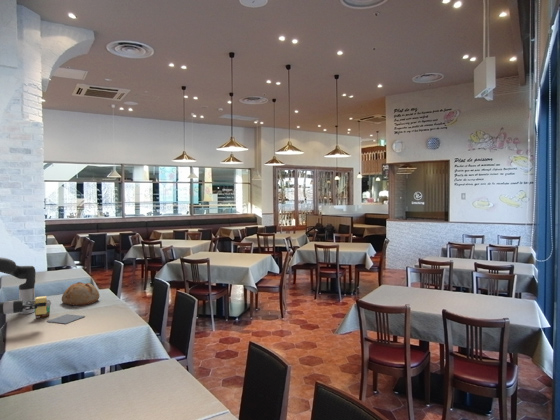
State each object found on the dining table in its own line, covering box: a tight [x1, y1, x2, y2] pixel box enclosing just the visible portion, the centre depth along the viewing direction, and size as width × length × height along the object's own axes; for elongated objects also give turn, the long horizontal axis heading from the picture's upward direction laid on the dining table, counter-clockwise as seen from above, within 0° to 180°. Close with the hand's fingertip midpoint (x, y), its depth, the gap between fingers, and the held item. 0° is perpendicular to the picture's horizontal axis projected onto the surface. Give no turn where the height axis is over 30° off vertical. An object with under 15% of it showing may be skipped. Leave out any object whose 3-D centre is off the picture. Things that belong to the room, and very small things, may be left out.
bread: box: [61, 281, 101, 306], centre depth 300 cm, size 26×23×15 cm
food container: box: [34, 299, 52, 320], centre depth 262 cm, size 12×6×10 cm, turn 168°
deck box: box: [35, 295, 48, 315], centre depth 239 cm, size 5×6×10 cm
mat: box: [46, 313, 86, 325], centre depth 256 cm, size 16×16×1 cm
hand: (46, 303), depth 241 cm, fingers closed on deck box, 4 cm apart
